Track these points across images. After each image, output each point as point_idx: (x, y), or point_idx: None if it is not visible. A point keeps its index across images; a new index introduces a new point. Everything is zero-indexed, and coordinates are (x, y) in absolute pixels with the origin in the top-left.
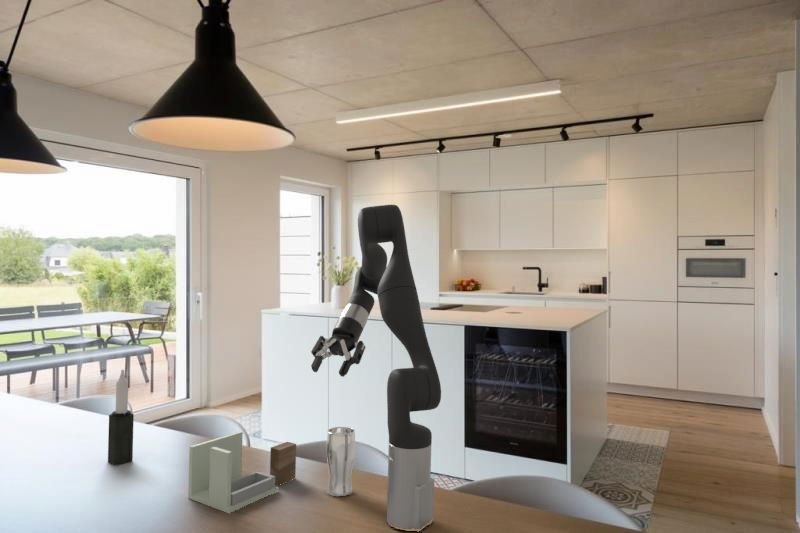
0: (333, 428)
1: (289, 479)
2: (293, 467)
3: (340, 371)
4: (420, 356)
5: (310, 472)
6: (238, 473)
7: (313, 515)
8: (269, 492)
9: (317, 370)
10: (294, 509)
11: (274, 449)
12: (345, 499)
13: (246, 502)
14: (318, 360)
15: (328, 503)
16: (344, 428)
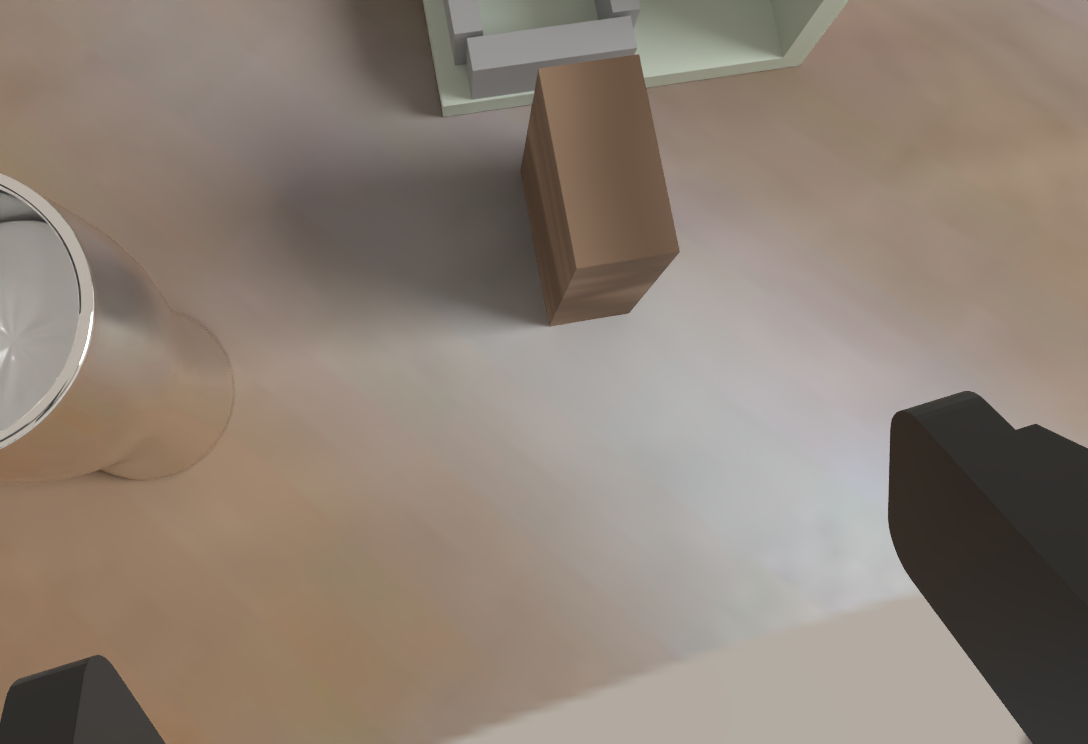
0: (78, 313)
1: (540, 267)
2: (553, 286)
3: (34, 680)
4: None
5: (577, 481)
6: (785, 23)
7: (6, 54)
8: (430, 33)
9: (924, 585)
10: (157, 29)
11: (593, 63)
12: None
13: None
14: (1078, 642)
15: None
16: (14, 431)
